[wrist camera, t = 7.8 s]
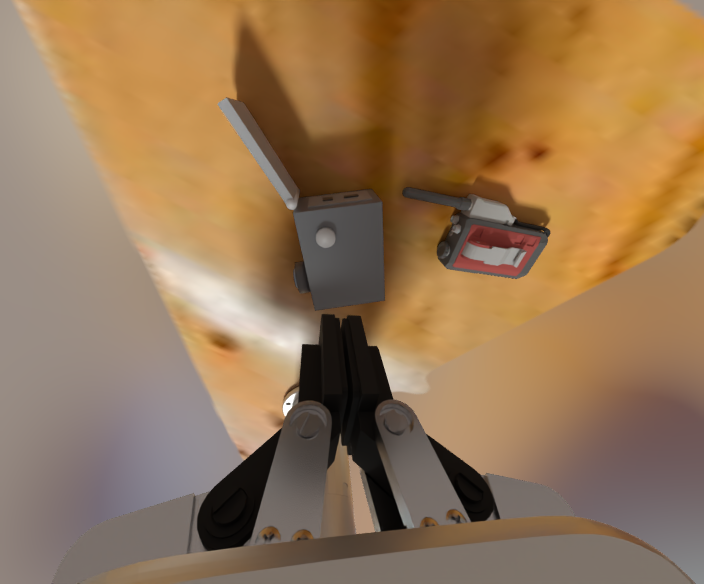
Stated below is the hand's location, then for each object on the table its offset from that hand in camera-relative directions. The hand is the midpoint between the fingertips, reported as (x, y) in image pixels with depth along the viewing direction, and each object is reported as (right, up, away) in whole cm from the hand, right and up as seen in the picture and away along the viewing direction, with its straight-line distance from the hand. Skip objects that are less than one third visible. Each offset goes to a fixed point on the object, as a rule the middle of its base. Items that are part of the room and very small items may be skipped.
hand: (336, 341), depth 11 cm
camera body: (-1, +8, +19) cm, 21 cm away
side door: (-7, +15, +13) cm, 21 cm away
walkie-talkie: (+15, +10, +21) cm, 27 cm away
